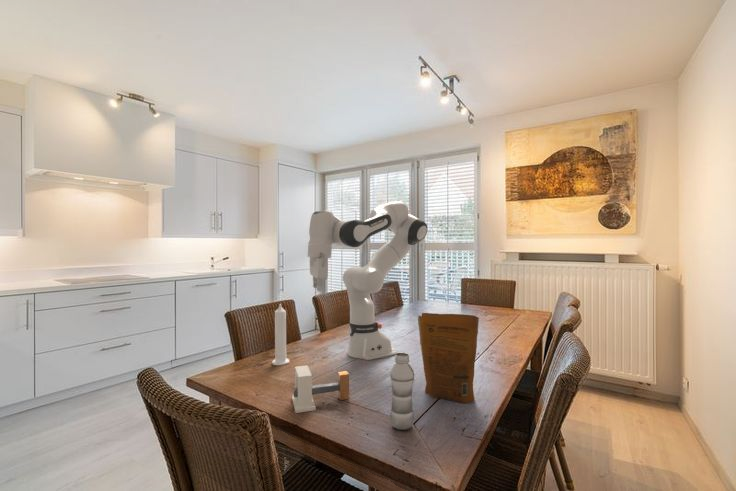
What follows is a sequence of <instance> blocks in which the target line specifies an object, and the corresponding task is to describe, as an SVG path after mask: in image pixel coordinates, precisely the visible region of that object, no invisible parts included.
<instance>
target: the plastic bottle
mask: <svg viewBox="0 0 736 491" xmlns="http://www.w3.org/2000/svg"><path fill="white" fill-rule="evenodd" d="M409 355H410V354H409V353H407V352H396V354H395V355H394V358H395V359H394V362H395V364H394V365H393V367H392V368H391V370H390V373H389V374H390V383H391V384H390V385H391V392H392V394H391V396H392V397H391V409H390V411H389V412H390V413H389V421H390V424H391V426H392V427H393V428H394V429H396V430H398V431H399V430H400V431H402V430H403V431H405V430H409V429H411V427H412V426H413V425H414V422H415V421H414V420H415V415H414V410H413V399H412V398H413V386H414V381H415V372H414V369H413V367H412V366H411V365H410V364H409V363H410V356H409Z"/></svg>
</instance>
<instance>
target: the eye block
mask: <svg viewBox="0 0 736 491" xmlns="http://www.w3.org/2000/svg"><path fill="white" fill-rule="evenodd" d="M294 370H295V371H294V373H295V374H294V376H295V378H294V380H295V382H294V383H295V384H294V386H295V387H294V388H298V397H294V395H291V400H292V404H293V407H294V413H295V414H299V413H306V412H311V411H316V410H317V408H316V407H317V406H316V404H315V401H314V398H313V395H312V386H313V377H312V376H313V375H312V373H311V369H310V367H309V365H308V364H307V365H301V366H300V365H298V366H295V367H294Z"/></svg>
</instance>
